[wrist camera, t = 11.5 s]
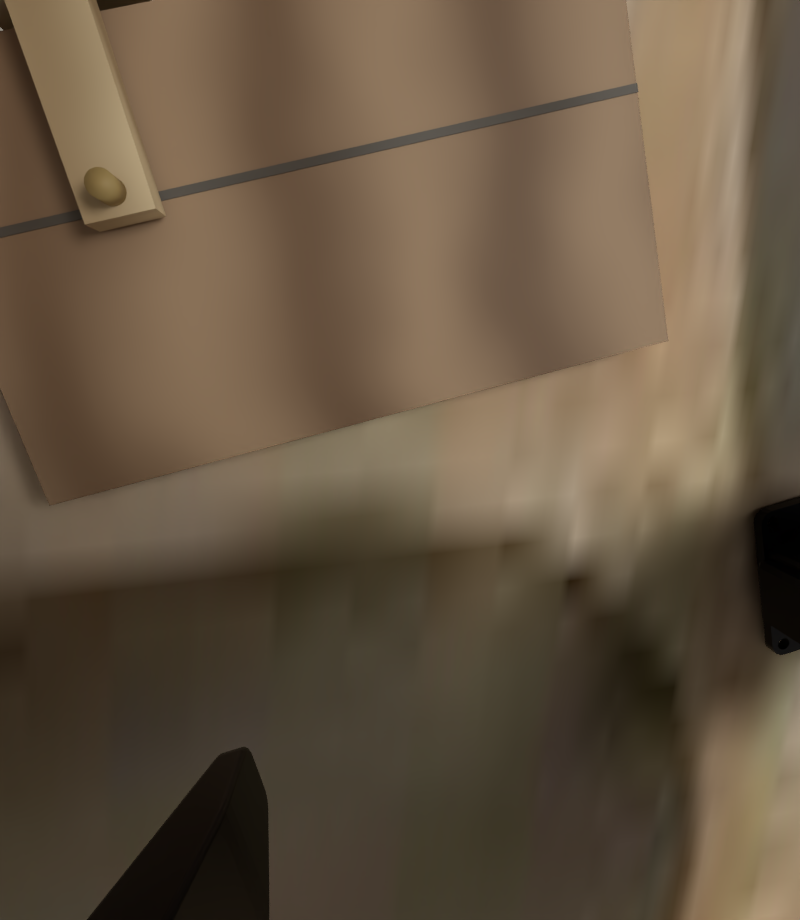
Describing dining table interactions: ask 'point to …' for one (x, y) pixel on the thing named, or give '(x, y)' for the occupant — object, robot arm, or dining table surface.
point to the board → (322, 226)
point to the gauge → (86, 107)
